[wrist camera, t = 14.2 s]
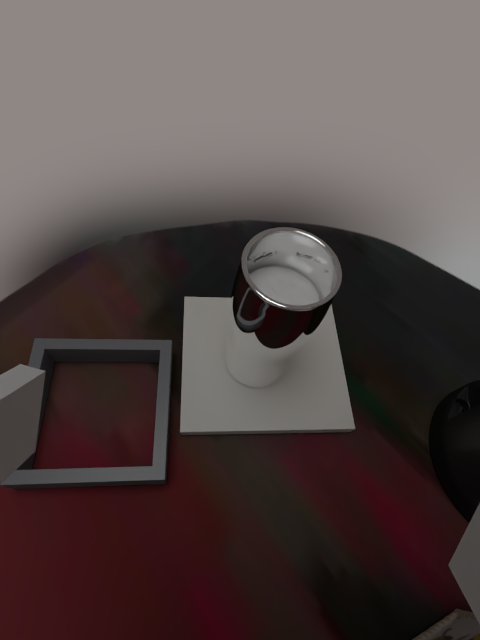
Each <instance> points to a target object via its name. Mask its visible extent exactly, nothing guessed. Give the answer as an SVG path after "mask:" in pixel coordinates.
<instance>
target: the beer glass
mask: <svg viewBox="0 0 480 640" xmlns="http://www.w3.org/2000/svg"><path fill="white" fill-rule="evenodd" d="M341 280H342V271H341V266H340V263H339V260H338V258H337V256H336V255H335V253H334V252H333V250H332V249H331V248H330V247H329V246H328V245H327V244H326V243H325V242H324V241H322V240H321V239H320V238H318V237H317V236H315V235H313V234H311V233H309V232H306V231H303V230H300V229H296V228H288V227H279V228H272V229H268V230H265V231H263V232H261V233H259V234H257V235H256V236H254V237H253V238H252V239H251V240H250V241H249V242H248V243H247V245H246V247H245V248H244V251H243V254H242V259H241V262H240V265H239V268H238V271H237V274H236V277H235V280H234V285H233V289H232V294H231V302H230V317H231V326H232V332H233V337H232V338H231V340H230V341H229V343H228V345H227V348H226V351H225V363H226V367H227V369H228V371H229V373H230V374H231V375H232V377H233V378H234V379H235V380H237V381H238V382H239V383H241V384H243V385H245V386H248V387H253V388H262V387H267V386H269V385H271V384H273V383H275V382H276V381H277V380H278V379H279V378H280V377H281V376H282V374H283V372H284V370H285V367H286V363H287V358H288V357H289V356H290V355H292V354H293V353H294V352H296V351H297V350H298V349H299V348H300V347H302V346H303V345H304V344H305V343H306V342H307V341H308V340H309V339H310V338H311V337H312V335H313V334H314V333H315V331H316V330H317V329H318V327H319V326H320V324H321V322H322V321H323V319H324V317H325V315H326V314H327V311H328V309H329V307H330V305H331V303H332V301H333V299H334V296H335V294H336V293H337V291H338V290H339V287H340V284H341Z"/></svg>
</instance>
